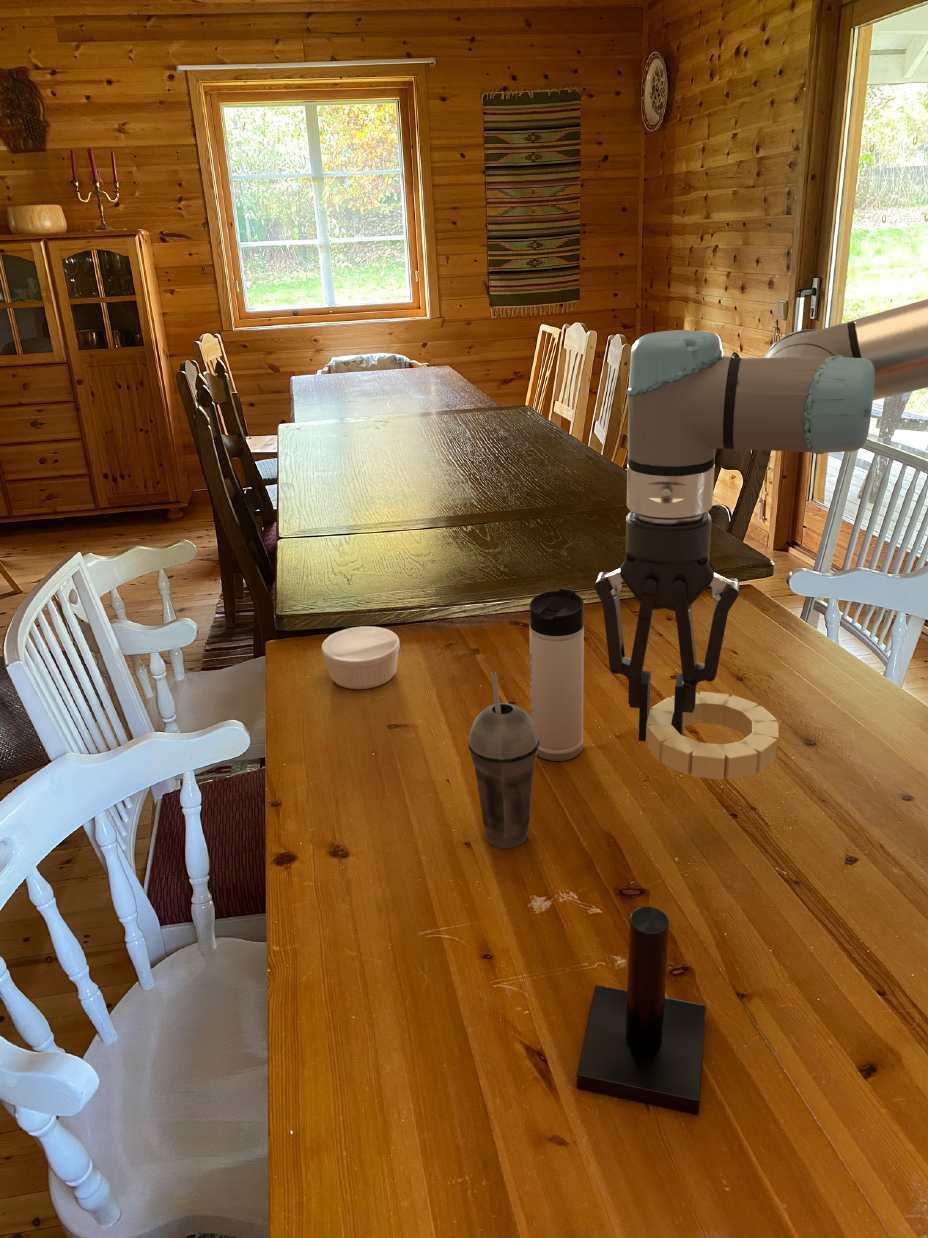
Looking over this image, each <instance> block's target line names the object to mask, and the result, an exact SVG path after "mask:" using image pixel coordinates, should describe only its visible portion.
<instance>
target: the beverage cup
mask: <svg viewBox="0 0 928 1238" xmlns="http://www.w3.org/2000/svg"><path fill="white" fill-rule="evenodd" d="M490 679H491V687H492V694H493V702H494V703H493V704H492V705H489V706H487V707H485V708H484V709H483V710H482V711H480V712H479V713H478V715H477V716H476V717H475V719H474V720H473V723H472V725H471V727H470V730H469V737H468V740H467V741H468V742H467V745H468V747H467V748H468V750H469V751H470V757H471V760H472V764H473V766H474V770H475V775H476V784H477V791H478V798H479V804H480V810H481V818H482V824H483V825H482V826H483V828H484V833H485V838H486V841H487V842H488V843H489V844H491V845H492V846H494V847H496V848H499V849H501V848H502V849H513V848H516V847H517V848H518V847H519V846H521V845H522V844H524V843H525V842H526V841H527V839H528V837H529V827H530V823H531V810H532V798H533V784H534V773H535V772H534V771H535V764H536V760H537V757H538V755H537V751H538V747H539V744H540V743H539V739H538V735H537V731H536V727H535V724H534V722H533V720H532V719H531V715H529V713H527V712H526V711H525V710H524V709H523V708H521V707H520V706H517V705H515V704H511V703H507V702H500V694H499V693H500V692H499V687H498V677H497V673H496V671H492V672H490Z"/></svg>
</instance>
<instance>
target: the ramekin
mask: <svg viewBox="0 0 928 1238" xmlns="http://www.w3.org/2000/svg"><path fill="white" fill-rule="evenodd" d="M400 647H401V641H400V638H399V636H398V635H397V634H396V633H395V632H393V631H392V630H390V629H388V628H384V627H379V626H370V625H369V626H368V625H367V626H355V627H349V628H346V629H342V630H339V631H336V632H334V633H331V634H330V635H329V636H328V637H326V638H325V639H324V641H323V642H322V644H321V654H322V657H323V658H324V660H325V664H326V667H327V670H328V674H329V677H330V679H331V680H332V681H333V682H334V683H335V684H337V685H338V686H339V687H342V688H346V689H351V690H367V689H368V690H369V689H373V688H378V687H380V686H382V685H384V684H386V683H388V682H389V681H390V680H391V679H392V678H393V677H394V675H395V674H396V672H397V669H398V658H399V651H400Z"/></svg>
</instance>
